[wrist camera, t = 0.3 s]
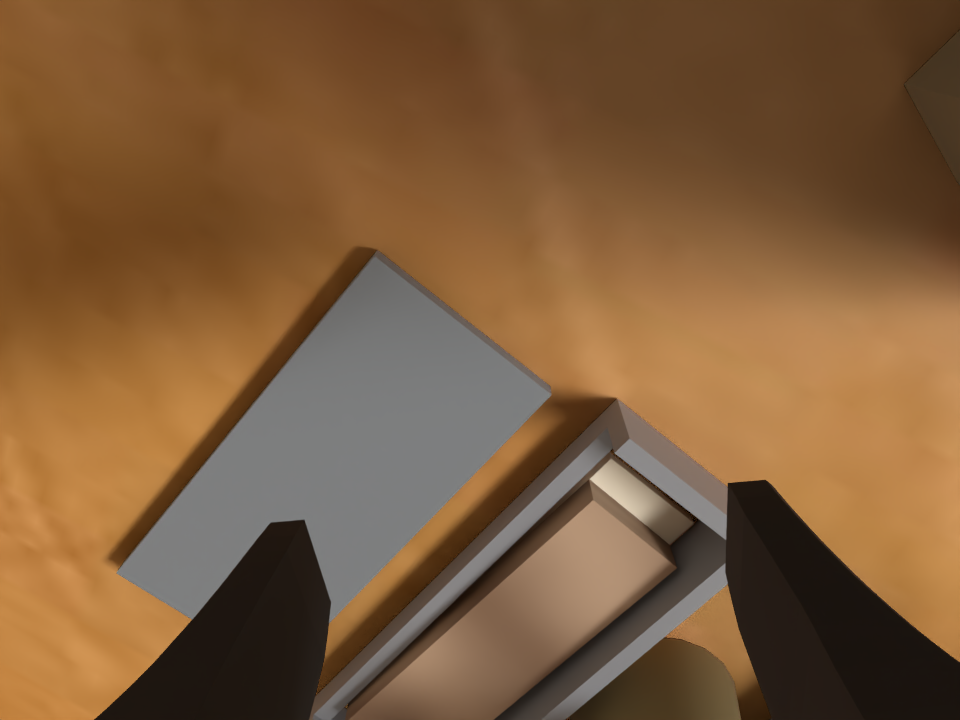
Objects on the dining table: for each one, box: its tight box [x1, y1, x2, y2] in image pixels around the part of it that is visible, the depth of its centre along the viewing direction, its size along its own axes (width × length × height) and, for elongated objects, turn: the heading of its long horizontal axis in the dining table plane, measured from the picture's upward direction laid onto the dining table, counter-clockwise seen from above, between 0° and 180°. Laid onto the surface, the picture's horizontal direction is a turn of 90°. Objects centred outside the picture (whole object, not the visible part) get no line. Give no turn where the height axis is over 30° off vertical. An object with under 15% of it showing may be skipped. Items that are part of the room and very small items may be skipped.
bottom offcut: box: [441, 452, 694, 614], centre depth 28 cm, size 13×4×1 cm, turn 140°
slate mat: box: [117, 250, 552, 623], centre depth 26 cm, size 14×6×1 cm, turn 140°
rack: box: [309, 399, 772, 720], centre depth 28 cm, size 16×14×2 cm
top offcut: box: [345, 479, 677, 720], centre depth 27 cm, size 12×4×1 cm, turn 138°
